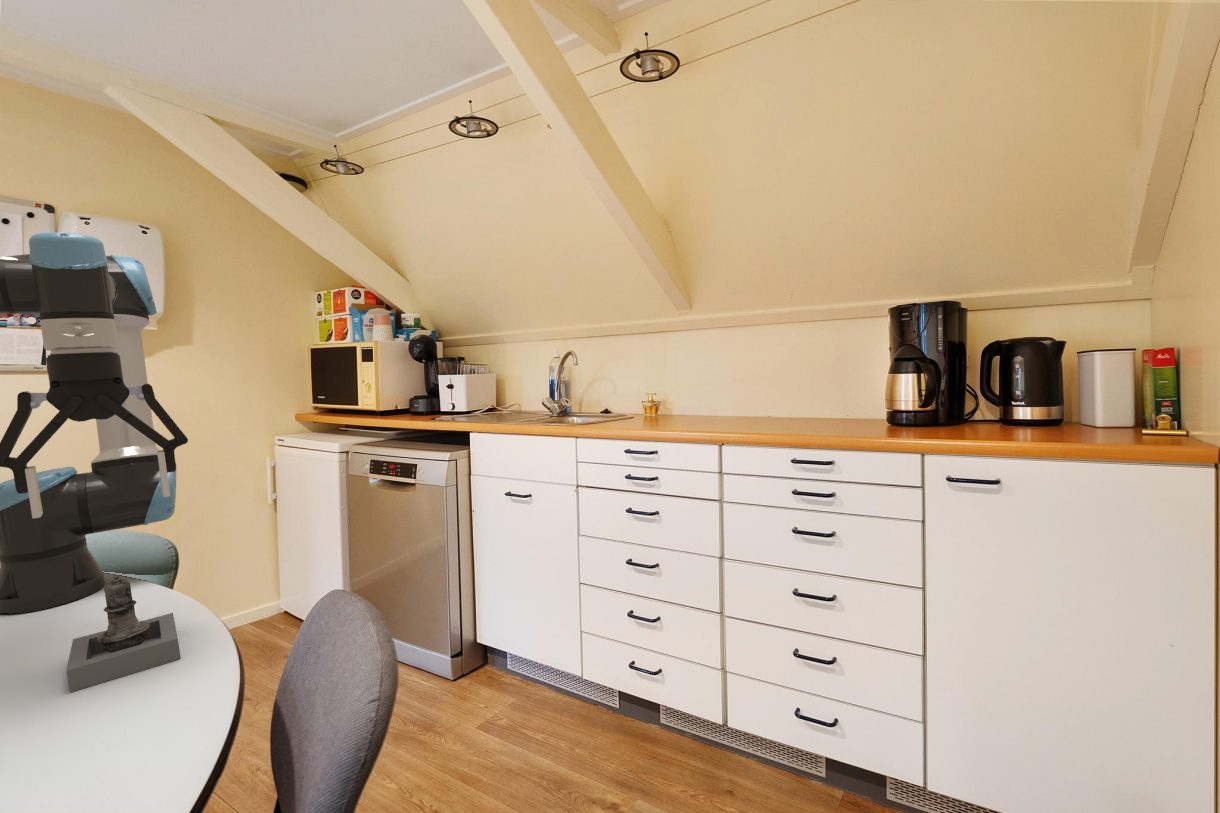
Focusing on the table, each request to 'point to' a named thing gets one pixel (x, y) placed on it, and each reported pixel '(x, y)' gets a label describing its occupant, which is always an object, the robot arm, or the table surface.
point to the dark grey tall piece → (121, 618)
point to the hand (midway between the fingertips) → (105, 505)
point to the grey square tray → (121, 655)
